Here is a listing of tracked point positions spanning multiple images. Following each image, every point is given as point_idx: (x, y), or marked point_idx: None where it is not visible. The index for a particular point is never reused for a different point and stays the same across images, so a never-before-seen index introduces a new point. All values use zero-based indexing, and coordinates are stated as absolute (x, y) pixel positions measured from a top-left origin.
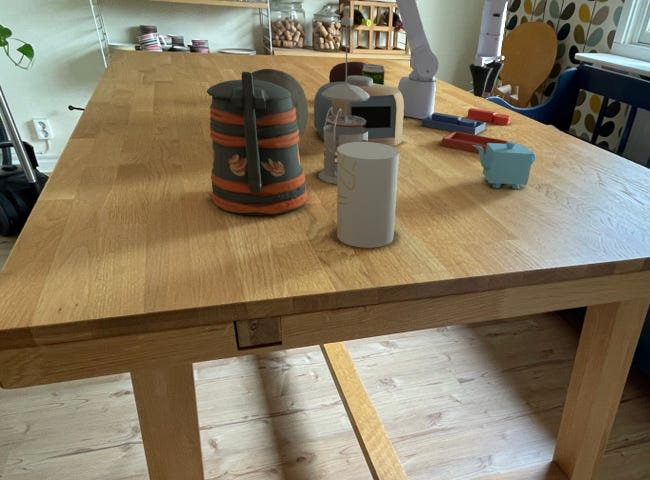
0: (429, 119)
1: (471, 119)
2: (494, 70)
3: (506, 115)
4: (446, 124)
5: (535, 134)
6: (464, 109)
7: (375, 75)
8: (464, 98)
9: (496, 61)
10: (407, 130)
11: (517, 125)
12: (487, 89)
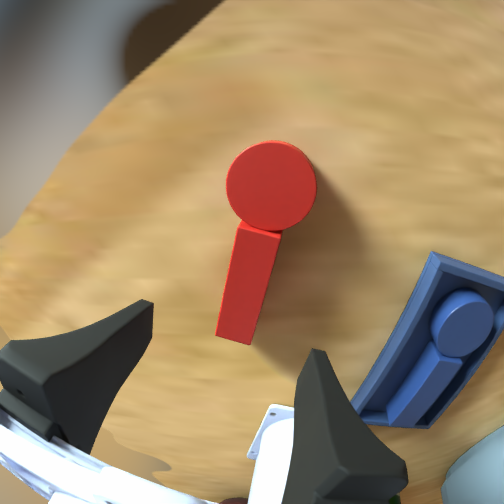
0: None
1: (447, 322)
2: (83, 384)
3: (246, 165)
4: (471, 374)
5: (418, 32)
6: None
7: None
8: (5, 316)
9: (23, 409)
10: (467, 422)
11: (278, 100)
12: (145, 330)
